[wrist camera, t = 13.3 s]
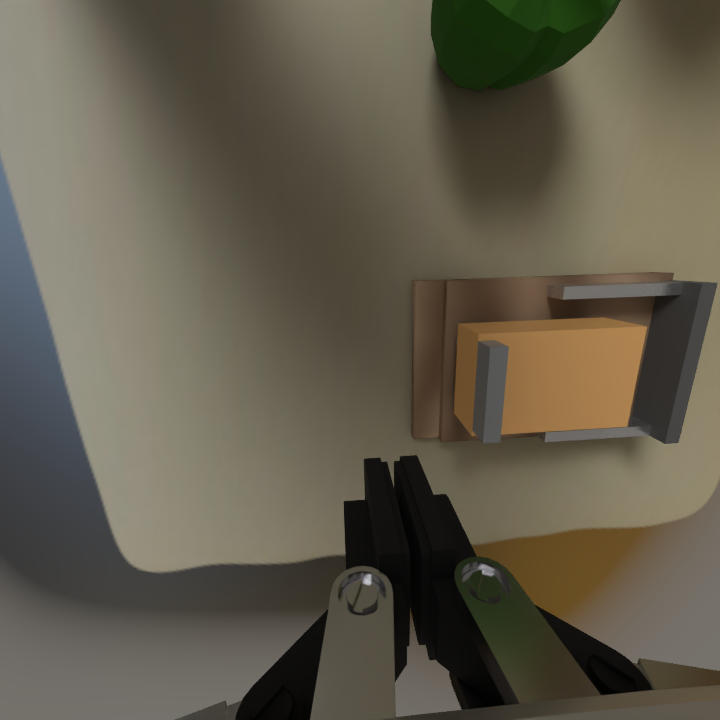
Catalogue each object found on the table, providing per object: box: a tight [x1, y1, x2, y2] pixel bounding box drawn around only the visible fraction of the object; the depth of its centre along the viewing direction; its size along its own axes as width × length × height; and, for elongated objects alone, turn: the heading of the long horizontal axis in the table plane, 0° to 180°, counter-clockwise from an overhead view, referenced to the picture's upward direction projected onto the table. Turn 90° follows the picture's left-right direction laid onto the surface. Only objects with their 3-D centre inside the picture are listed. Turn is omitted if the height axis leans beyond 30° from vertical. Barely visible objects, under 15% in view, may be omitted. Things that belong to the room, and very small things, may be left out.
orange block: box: [454, 317, 647, 444], centre depth 22 cm, size 10×6×6 cm, turn 92°
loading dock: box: [411, 272, 717, 444], centre depth 25 cm, size 18×12×4 cm, turn 92°
